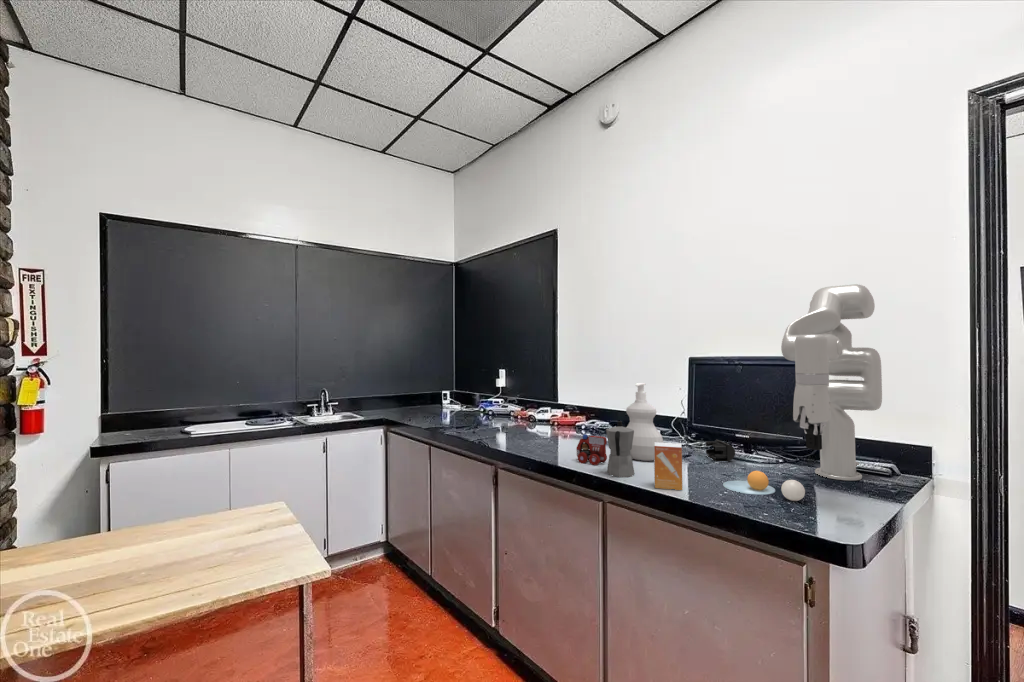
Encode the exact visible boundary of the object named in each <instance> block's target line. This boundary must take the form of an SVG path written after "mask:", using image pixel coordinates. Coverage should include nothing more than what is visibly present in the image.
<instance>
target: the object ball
mask: <svg viewBox="0 0 1024 682" xmlns="http://www.w3.org/2000/svg"><path fill="white" fill-rule="evenodd" d="M746 481H748V484H749V485H750V487H752V488H753V489H755V490H764V489H765V488H767V486H768V485H769V484H770V483H769V482H770V481H769V478H768V476H767V475H766V474H765V473H764V472H763V471H760V470H752V471H751V472H750V473H749V474H748V475H747V479H746Z"/></svg>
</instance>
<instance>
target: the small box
mask: <svg viewBox="0 0 1024 682" xmlns="http://www.w3.org/2000/svg"><path fill="white" fill-rule="evenodd" d="M653 464H654V465H653V466H654V467H653V469H654V470H653V471H654V477H653V478H654V489H662V490H671V489H675V490H674V491H680V490H682V491H683V447H682V443H681V442H680V443H677V442H663V443H659V442H654V460H653Z"/></svg>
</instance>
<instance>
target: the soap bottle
mask: <svg viewBox="0 0 1024 682" xmlns="http://www.w3.org/2000/svg"><path fill="white" fill-rule="evenodd" d="M644 386H646V383H645V382H637V383H635V387H637V391H635V400H634V402H633V403H631V404H629V405H628V406H627V407H626V409H625V410H626V411H625V413H626V414H627V416H628V417H629V422H628V424H627V426H625V427H626V428H630V429H632V430H634V435H633V443H632V449H631V450H630V455H631V457H632V460H636V461H640V460H641V461H643V462H649V461H654V442H659V443H664V438H663V435H662V434H661V433H660V431H659V430H658V428H657V427H656V426H655V423H654V418H655V416H656V415H657V409H656V407H654V406H653V405H652V404H650V403H649V402H648V401H647V392H645V390H644V389H645V387H644Z"/></svg>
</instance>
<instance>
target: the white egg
mask: <svg viewBox="0 0 1024 682" xmlns="http://www.w3.org/2000/svg"><path fill="white" fill-rule="evenodd" d="M780 489H781V493H782V495H783V496H784V497H785V499H787V500H789V501H793V502H798V501H800V500H803V498H805V495H806V489H805V487H804V485H803V484H802V483H801V482H799V480H798V481H797V480H795V479H787V480H785V481H784V482H783V483H782V484H781V488H780Z"/></svg>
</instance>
